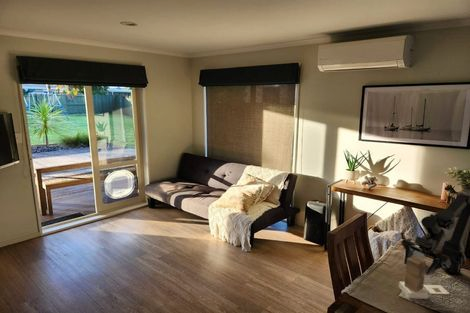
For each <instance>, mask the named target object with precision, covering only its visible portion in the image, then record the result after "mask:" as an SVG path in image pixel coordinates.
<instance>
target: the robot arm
mask: <svg viewBox="0 0 470 313" xmlns="http://www.w3.org/2000/svg"><path fill="white" fill-rule="evenodd" d="M457 216H458V218H457ZM456 218H457V221H456V220H455V219H456ZM421 225H422V227H423V229H424V231H425V232H426V234H425V235H423V236H422V237H421V236H418V235H417V236H416V238H415V239H414V242H413V241H411V240H408V239H406V238H404V239H402V240H401V242H400V245H402V247H403V248H404V252H405V261H404V260H403V261H404V262H403V264H404V265H407V258H410V257H412V255H413V254H414V253H413V251H418V252H420V253H422V254H425V256H427V257H429V258H432V263H431V264H430V265H429V267H428V269H427V270H426V273H425V275H427V276H429V275H430V274H432V273H434V272H435V271H437V270H440V269H441V270H443V271H444V272H445V273H446V274H448V275H449V276H463V272H461V271H462V266H463V265H466V262H467V259H468V258H467V257H466V254H465V246H464V240H465V238H466V235H467V232H468V229H469V227H470V194H467V193H457V194H456V197H455V198H454V199H453V201H451V202H450V204H448V206H447V207H446V208H445V209H444V210H439V211H438V212H436V213H435V214H430V215H427V216H425V217H423V218H422V219H421ZM453 228H454V229H453ZM444 229H445V230H448V231H450V230H452V229H453V231H452V235H451V237H450V239H449V240H445V241H444V242H443V245H442V246H441V249H440V252H441V253H440V252H437V253H436V251H437V249H439V248H440V243H441V242H442V240H443V238H446V232H445V230H444ZM415 245H418V246H419V247H417V246H415Z"/></svg>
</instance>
